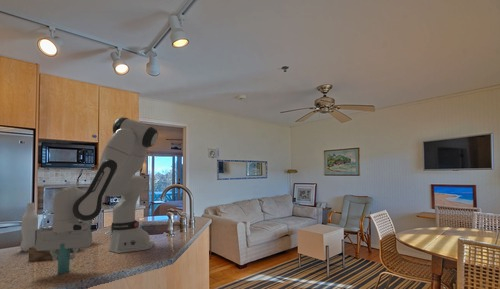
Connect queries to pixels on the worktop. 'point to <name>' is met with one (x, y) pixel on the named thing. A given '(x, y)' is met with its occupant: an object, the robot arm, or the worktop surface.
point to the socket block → (39, 254)
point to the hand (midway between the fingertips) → (64, 259)
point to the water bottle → (29, 227)
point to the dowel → (63, 259)
